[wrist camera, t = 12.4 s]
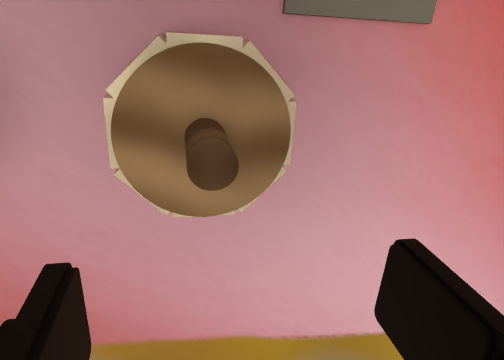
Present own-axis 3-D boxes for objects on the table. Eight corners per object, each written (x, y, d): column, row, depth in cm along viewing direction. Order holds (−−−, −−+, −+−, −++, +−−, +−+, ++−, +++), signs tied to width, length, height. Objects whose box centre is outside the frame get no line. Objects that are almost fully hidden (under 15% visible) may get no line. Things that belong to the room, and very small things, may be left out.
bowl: (111, 28, 28) (95, 28, 23) (280, 38, 31) (303, 40, 25) (125, 189, 33) (115, 220, 28) (268, 185, 36) (285, 212, 31)
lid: (103, 36, 23) (76, 40, 17) (295, 47, 25) (334, 53, 19) (121, 214, 28) (104, 268, 21) (279, 207, 30) (306, 254, 24)
